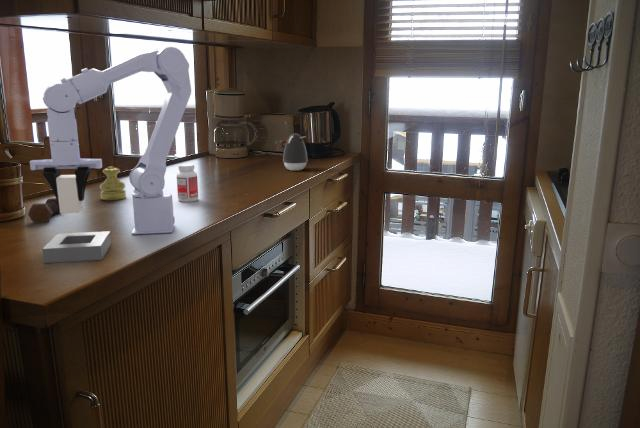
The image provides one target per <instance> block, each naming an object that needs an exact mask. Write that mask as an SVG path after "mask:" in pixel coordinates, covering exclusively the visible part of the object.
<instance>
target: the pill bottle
mask: <svg viewBox="0 0 640 428" xmlns="http://www.w3.org/2000/svg"><path fill="white" fill-rule="evenodd" d="M176 190H177V200H178V201H179V202H181V201H182V202H181V203H191V202H192V203H193V202H197V201H198V200H199V183H198V174H197V172H196V171H195V164H194V163H184V164H183V163H182V164H178V172H177V173H176Z"/></svg>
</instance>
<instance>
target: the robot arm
mask: <svg viewBox="0 0 640 428" xmlns="http://www.w3.org/2000/svg"><path fill="white" fill-rule="evenodd" d="M189 69H190V64H189V62H188V60H187V58H186V57H185V54H184V53H183V52H182V51H181V50H180V49H179V48H177V47H174V46H168V47H165V48H157V49H155V50H152V51H146V52H143V53H139V54H136V55H134V56H132V57H130V58H127V59H125V60H123V61H121V62H118V63H117V64H115V65H113V66H111V67H108V68H106V69H104V70H99V69H96V68H90V69H88V67H85V68H82V69H81V70H80V71H81V73H79V74H76V75H74V76H72V77H70V78H65V77H64V78H61V79H60V82H61V83H55V84H52V85H50V86H47V88H46V89H45V91H44V93H43V96H42V100H43V103H44V104H45V106H46V107H47V108H46V116H47V119H46V120H47V121H46V122H47V130H48V137H49V138H48V139H49V147H50V155H51V159H50V158H49V159H48V158H47V159H32V160H30V161H29V168H30V171H36V170H43V171H42V176H43V177H44V179H45V180H46V182H47V183H48V184H49V186H50V188H51V189H52V192H53V194H54V198H56V200H57V202H59V199H58V191H57V182H56V178H57V177H59V176H60V175H61V170H62V169H63V170H69V169H72V170H73V169H76V170H74V175H75V176H76V180H77V186H78V198H79V201H84V200H85V194H86V193H85V191H86V186H87V183H88V180H89V177H90V174H91V172H92V169H101V168H103V160H102V158H82V157H81V154H80V145H79V135H78V124H77V118H75V117H76V115H75V106H76V105H77V104H79V105H82V104H83V103H86V102H88V101H90V100H92V99H95V98H97V97H99V96H101V95H104V94H106V93H107V92H108V88H109V86H110V85H111V84H114V83H116V82H119V81H121V80H123V79H125V78H128V77H130V76H133V75H135V74H138V73H140V72H146V73H154V74H155V75H156V77H158V78H159V79H160V80H161V81H162V83H163V85H164V88H165V89H166V91H167V94H166V96H165V99H164V101H163V104H162V107H161V109H160V112H159V115H158V118H157V119H156V123H155V125H154V129H153V130H152V133H151V137H150V139H149V141H148V144H147V146H146V149H145V152H144V153H143V154H142V156H141V157H140V158H139V161H138V162H137V164H136V166H134V167H133V168H132V170H131V171H130V172H129V177H128V178H129V182H130V184H131V186H132V187H133V188H134V189H133V192H132V193H131V196H132V207H133V220H134V227H133V229H132V230H131V232H130V233H131V235H147V234H148V235H149V234H166V233H167V234H168V233H171V234H172V233H173V232H174V227H175V223H176V222H175V216H174V203H173V202H174V201H173V194H171V193H168V194H167V193H164V188H165V182H166V181H165V174H166V171H167V159H168V158H167V157H168V156H169V153H170V150H171V148H172V145H173V143H174V140H175V137H176V134H177V131H178V129H179V126H180V123H181V121H182V118H183V115H184V113H185V110H186V108H187V105H188V102H189V100H190V97H191V95H192V87H191V86H192V85H191V80H190V78H191V77H190V73H189V72H190V71H189Z"/></svg>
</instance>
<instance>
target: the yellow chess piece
mask: <svg viewBox="0 0 640 428" xmlns="http://www.w3.org/2000/svg"><path fill="white" fill-rule="evenodd" d="M120 172H121V170H120V168H118V167H115V166H113V165H111V166H107V167H106V168H104V169H103V170H102V173H103V174H104V175H106V178H105V180H104V181H103V182H101V183H100V184H99V188H100V190H101V191H100V199H101V200H103V201H111V202H112V201H118V200H123V199H126V198H127V195H126V192H127V190H126V189H125V188H126V184H125V182H123V181H121V180H120V179H119V178H118V177H117V176H118V174H119V173H120Z"/></svg>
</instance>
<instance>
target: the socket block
mask: <svg viewBox="0 0 640 428" xmlns="http://www.w3.org/2000/svg"><path fill="white" fill-rule="evenodd" d="M111 245H112V238H111V231H110V230H109V231H89V232H64V233H63V232H62V233H56V235H55V236H53V237H52V239H50V240H49V242H48V243H46V244H45V246H44V247H43V248H42V256H43V263H44V264H50V263H52V264H53V263H67V262H69V263H71V262H86V261H102V260H103V259H104V258H105V256H106V254H107V252H108V251H109V248H110V247H111Z"/></svg>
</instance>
